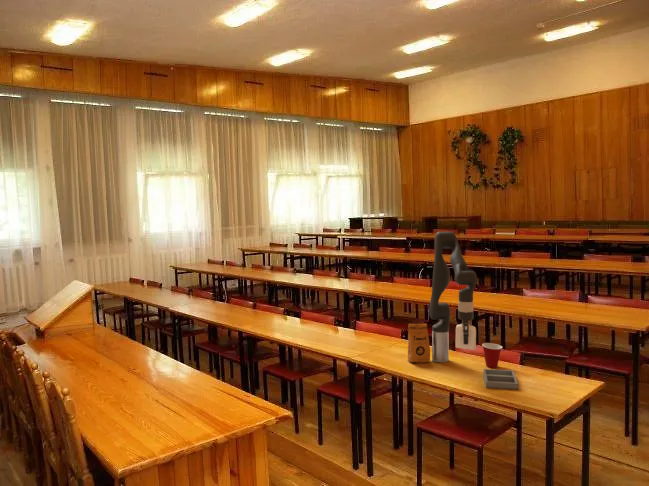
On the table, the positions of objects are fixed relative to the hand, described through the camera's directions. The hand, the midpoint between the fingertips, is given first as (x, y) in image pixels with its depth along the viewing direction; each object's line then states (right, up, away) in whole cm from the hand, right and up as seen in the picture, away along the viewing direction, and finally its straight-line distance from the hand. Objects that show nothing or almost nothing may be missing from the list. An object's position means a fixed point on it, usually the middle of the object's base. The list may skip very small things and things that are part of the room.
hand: (465, 342), depth 279 cm
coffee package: (-18, -17, +34) cm, 42 cm away
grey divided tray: (+17, -19, -3) cm, 26 cm away
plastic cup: (+20, -17, +22) cm, 35 cm away
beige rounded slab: (0, -3, 0) cm, 3 cm away
